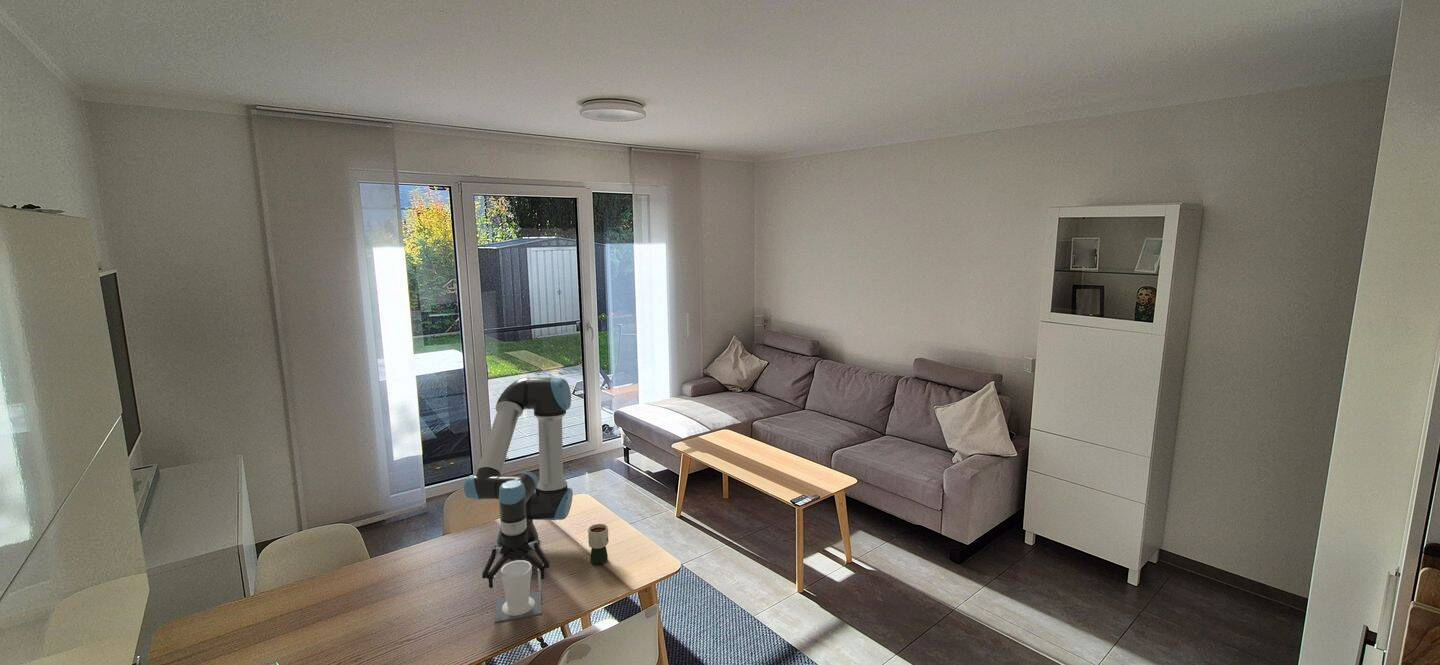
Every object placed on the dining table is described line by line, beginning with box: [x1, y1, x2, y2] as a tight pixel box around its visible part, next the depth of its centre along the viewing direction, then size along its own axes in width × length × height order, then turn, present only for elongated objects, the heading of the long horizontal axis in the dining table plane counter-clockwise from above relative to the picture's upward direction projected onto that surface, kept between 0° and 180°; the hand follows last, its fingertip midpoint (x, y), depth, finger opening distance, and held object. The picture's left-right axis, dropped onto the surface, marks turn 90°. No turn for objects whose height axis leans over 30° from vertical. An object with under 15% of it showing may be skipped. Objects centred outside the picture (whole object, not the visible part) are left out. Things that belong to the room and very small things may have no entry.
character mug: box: [587, 523, 609, 565], centre depth 219 cm, size 11×7×13 cm, turn 29°
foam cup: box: [499, 559, 533, 612], centre depth 192 cm, size 10×9×13 cm
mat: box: [494, 590, 543, 624], centre depth 194 cm, size 12×14×1 cm
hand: (517, 592), depth 193 cm, fingers open, 13 cm apart
